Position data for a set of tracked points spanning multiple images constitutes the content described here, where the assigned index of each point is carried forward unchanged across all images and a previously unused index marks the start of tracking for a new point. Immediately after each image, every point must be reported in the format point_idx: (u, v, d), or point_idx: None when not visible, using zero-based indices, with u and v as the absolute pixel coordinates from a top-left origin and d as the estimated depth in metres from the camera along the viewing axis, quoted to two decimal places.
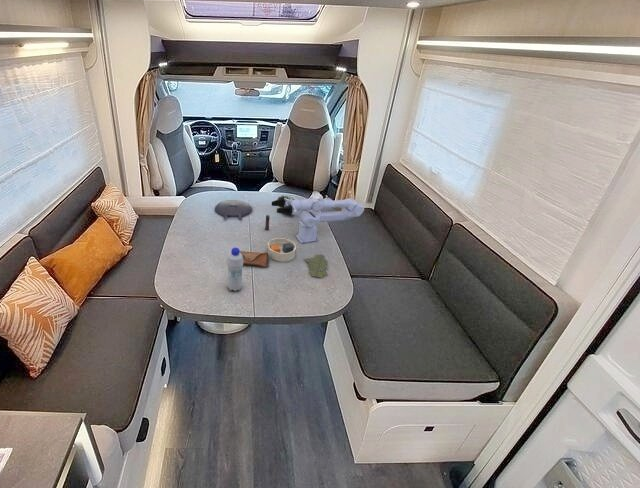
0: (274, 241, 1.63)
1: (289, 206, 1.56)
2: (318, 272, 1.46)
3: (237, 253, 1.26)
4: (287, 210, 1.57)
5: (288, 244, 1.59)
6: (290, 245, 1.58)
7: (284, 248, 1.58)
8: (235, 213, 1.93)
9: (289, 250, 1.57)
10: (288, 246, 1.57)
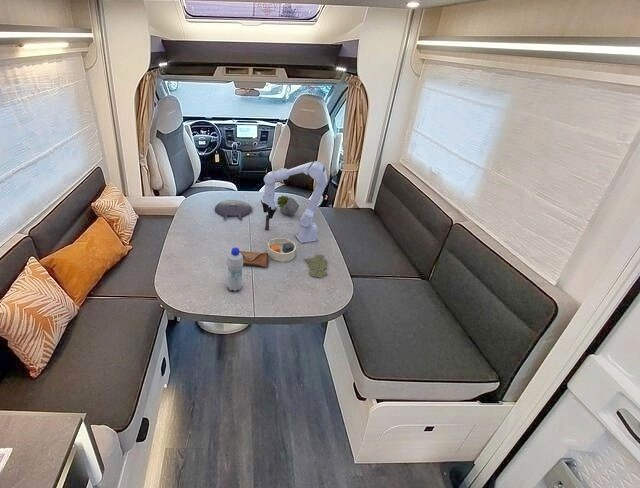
0: (274, 241, 1.63)
1: (267, 210, 1.70)
2: (318, 272, 1.46)
3: (237, 253, 1.26)
4: (271, 210, 1.71)
5: (288, 244, 1.59)
6: (290, 245, 1.58)
7: (284, 248, 1.58)
8: (235, 213, 1.93)
9: (289, 250, 1.57)
10: (288, 246, 1.57)
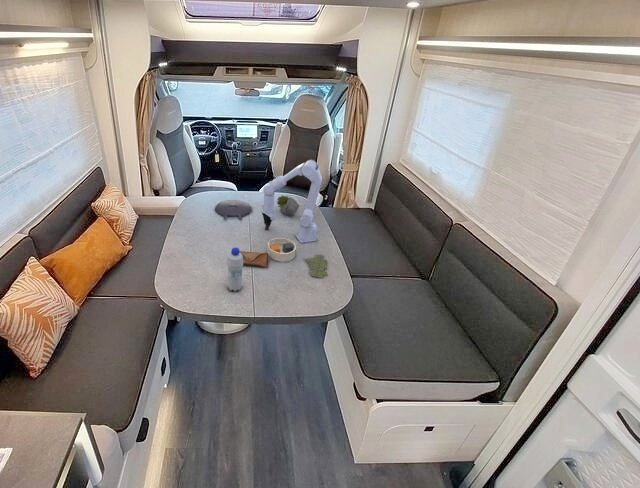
0: (274, 241, 1.63)
1: (265, 218, 1.75)
2: (318, 272, 1.46)
3: (237, 253, 1.26)
4: (269, 218, 1.76)
5: (288, 244, 1.59)
6: (290, 245, 1.58)
7: (284, 248, 1.58)
8: (235, 213, 1.93)
9: (289, 250, 1.57)
10: (288, 246, 1.57)
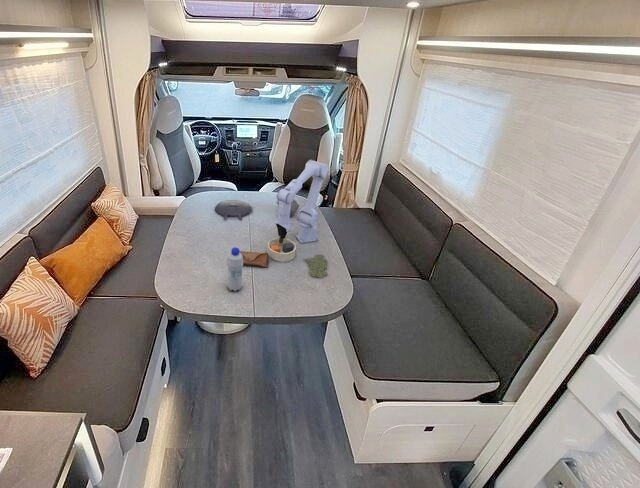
0: (274, 241, 1.63)
1: (279, 229, 1.51)
2: (318, 272, 1.46)
3: (237, 253, 1.26)
4: None
5: (288, 244, 1.59)
6: (290, 245, 1.58)
7: (284, 248, 1.58)
8: (235, 213, 1.93)
9: (289, 250, 1.57)
10: (288, 246, 1.57)
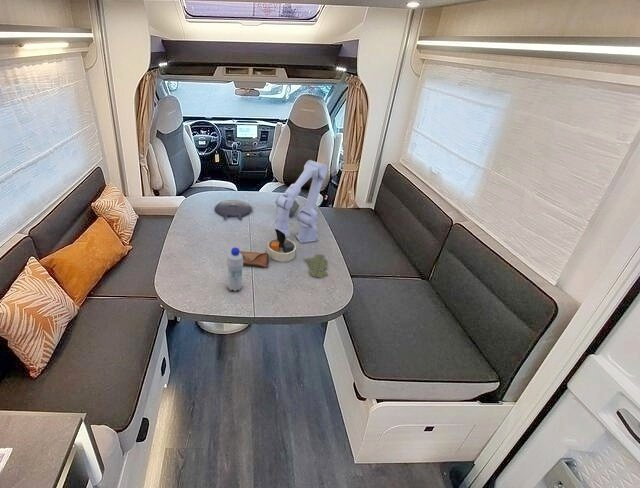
0: (274, 241, 1.63)
1: (278, 234, 1.54)
2: (318, 272, 1.46)
3: (237, 253, 1.26)
4: (283, 234, 1.55)
5: (288, 244, 1.59)
6: (290, 245, 1.58)
7: (284, 248, 1.58)
8: (235, 213, 1.93)
9: (289, 250, 1.57)
10: (288, 246, 1.57)
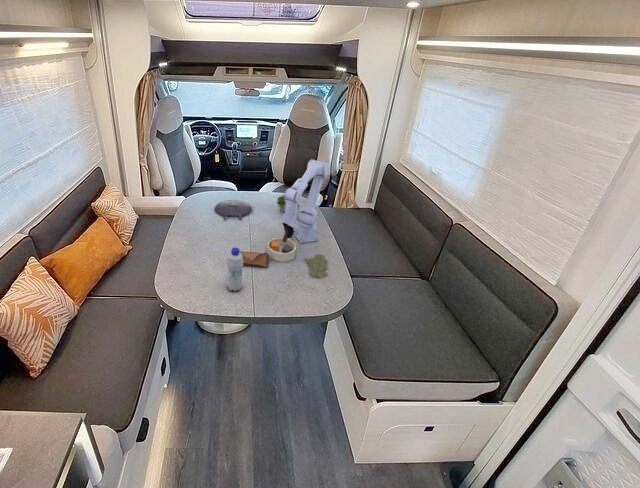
0: (274, 241, 1.63)
1: (286, 228, 1.51)
2: (318, 272, 1.46)
3: (237, 253, 1.26)
4: (291, 228, 1.52)
5: (286, 247, 1.56)
6: (288, 247, 1.56)
7: (285, 252, 1.55)
8: (235, 213, 1.93)
9: None
10: (289, 249, 1.55)
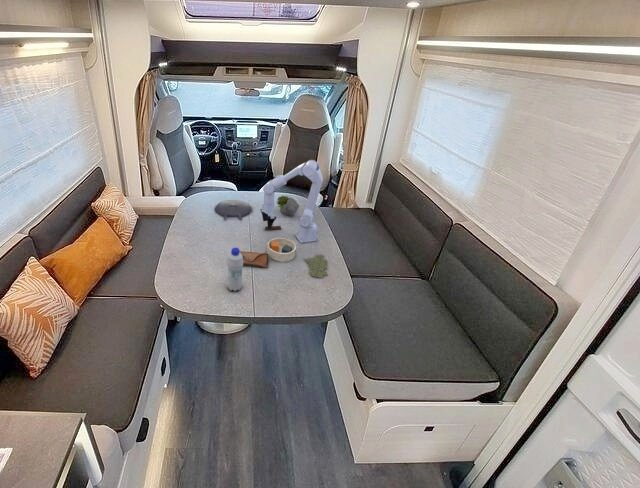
0: (274, 241, 1.63)
1: (266, 219, 1.72)
2: (318, 272, 1.46)
3: (237, 253, 1.26)
4: (270, 219, 1.73)
5: (286, 247, 1.56)
6: (288, 247, 1.56)
7: (285, 252, 1.55)
8: (235, 213, 1.93)
9: None
10: (289, 249, 1.55)
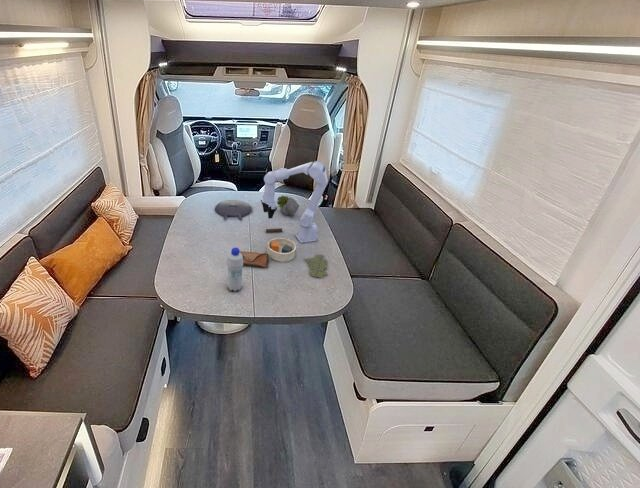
0: (274, 241, 1.63)
1: (267, 209, 1.70)
2: (318, 272, 1.46)
3: (237, 253, 1.26)
4: None
5: (286, 247, 1.56)
6: (288, 247, 1.56)
7: (285, 252, 1.55)
8: (235, 213, 1.93)
9: None
10: (289, 249, 1.55)
